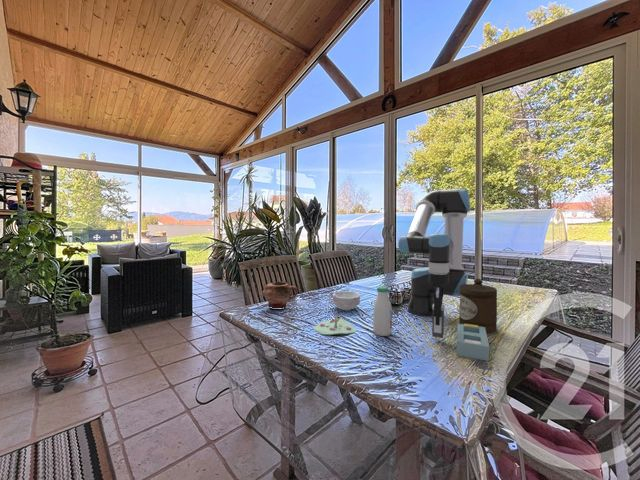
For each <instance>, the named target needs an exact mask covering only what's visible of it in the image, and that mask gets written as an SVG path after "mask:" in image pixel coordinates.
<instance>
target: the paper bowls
mask: <svg viewBox="0 0 640 480" xmlns="http://www.w3.org/2000/svg"><path fill="white" fill-rule="evenodd" d="M332 303H333V305H335V306H336V308H337V309H338V308H339V309H338V310H340V309H342V310H341V311H352V310H351V309H353V310H355V309H356V308H357V306H358V305H360V303H361V295H360V293H358V292H356V291H355V292H354V291H349V290H339V291H336V292H334V293H332ZM354 308H355V309H354Z"/></svg>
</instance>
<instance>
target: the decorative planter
mask: <svg viewBox="0 0 640 480" xmlns="http://www.w3.org/2000/svg"><path fill="white" fill-rule="evenodd" d="M292 290H293V291H295V293H294V295H292V296H291V291H292ZM298 293H299V290H298V287H297V286H295V285H289V284H288V282H283V281H276V282H275V281H274V282H270V283H268V284H266V285H265V287H264V290H262V292H261V295H262V296H263V297H264V299H265V298H266V300H267V303H268V308H269V307H272V308H283V307H286V308H287V302H291V300H293V299H294V298H295V297H297V295H298Z"/></svg>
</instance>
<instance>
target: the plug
mask: <svg viewBox="0 0 640 480" xmlns="http://www.w3.org/2000/svg"><path fill="white" fill-rule="evenodd" d="M432 310H433V313H432V315H434V304H433V306H432ZM431 317H432V321H431V323H432V325H431V326H432V327H431V330H432V331H431V332H432V333H431V337H434V338H440V339H444V335H445V330H444V329H445V327H444V326H445V325H444V324H445V304H442V305H441V317H442V323H441V333H435V332H434V317H433V316H431Z"/></svg>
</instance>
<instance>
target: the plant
mask: <svg viewBox="0 0 640 480" xmlns="http://www.w3.org/2000/svg"><path fill="white" fill-rule="evenodd" d="M338 310H339V309H338ZM338 310H336V312H334V318H335V319H332V320H330V321H324V320H323V321H324V322H322V321H321V322H322V323H320V322H319V323H320V324H318V323H317V324H318V325H317V324H316V325H317V326H315V325H314V326H315V327H314V326H313V327H312V330H313V331H314V330H315V331H314V332H316V333H317V334H320V335H324V336H325V335H326V336H331V335H332V336H334V335H349V334H355V333H356V332H357V331H356V329H354V327H353V326H352V325H351V324H349V323H348V322H346V321H345V320H343V319H344V318H342V316H341V315H340V314H339V311H338ZM340 316H341V317H340ZM337 317H340V318H338V319H337ZM341 318H342V319H341ZM355 331H356V332H355Z"/></svg>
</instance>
